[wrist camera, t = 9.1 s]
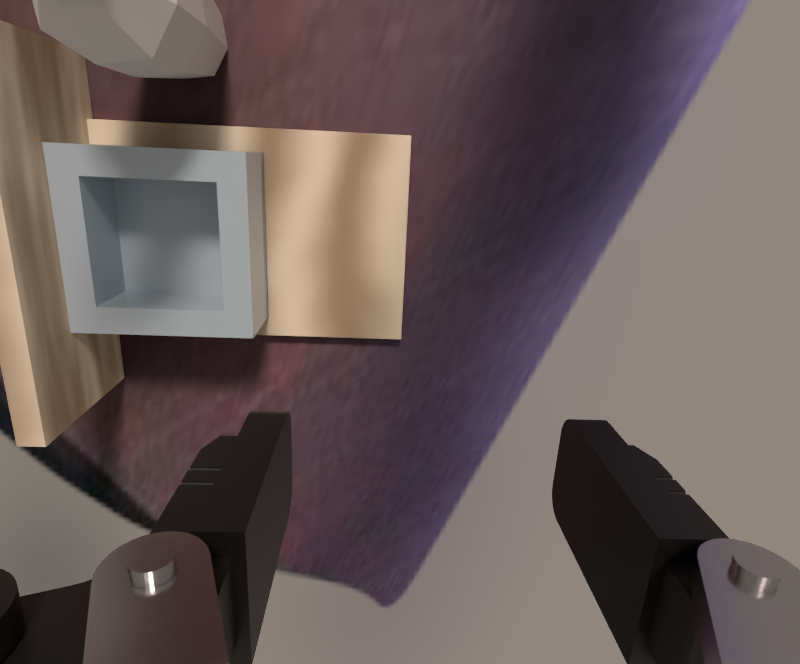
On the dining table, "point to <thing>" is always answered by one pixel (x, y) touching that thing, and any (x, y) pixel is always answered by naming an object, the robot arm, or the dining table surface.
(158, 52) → the low poly bottle
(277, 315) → the tan wooden board
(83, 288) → the holder
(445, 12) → the dining table surface
